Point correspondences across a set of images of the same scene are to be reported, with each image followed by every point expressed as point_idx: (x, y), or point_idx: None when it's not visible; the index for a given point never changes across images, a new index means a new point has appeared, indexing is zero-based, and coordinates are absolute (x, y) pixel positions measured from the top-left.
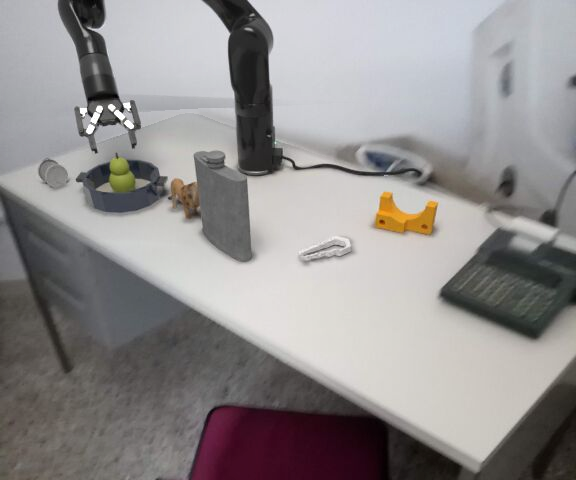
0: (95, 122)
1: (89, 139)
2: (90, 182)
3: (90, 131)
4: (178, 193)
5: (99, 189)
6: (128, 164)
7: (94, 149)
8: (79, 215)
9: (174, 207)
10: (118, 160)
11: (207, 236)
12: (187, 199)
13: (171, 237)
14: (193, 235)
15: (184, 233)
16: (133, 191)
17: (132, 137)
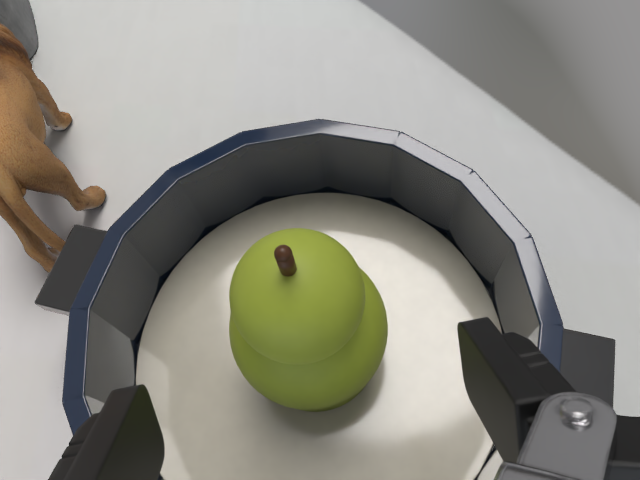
0: (504, 474)
1: (555, 380)
2: None
3: (559, 411)
4: (26, 89)
5: (473, 427)
6: (229, 299)
7: (482, 318)
8: (521, 193)
9: (92, 186)
10: (281, 243)
11: (28, 10)
12: (2, 25)
13: (146, 33)
14: (72, 39)
15: (99, 50)
16: (235, 137)
17: (96, 424)
